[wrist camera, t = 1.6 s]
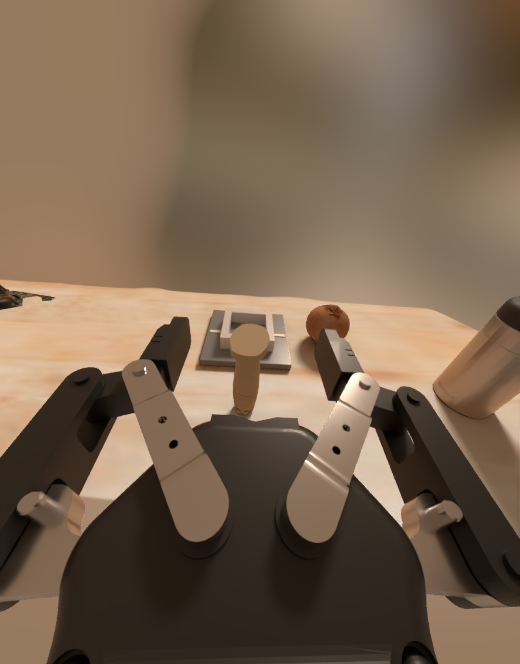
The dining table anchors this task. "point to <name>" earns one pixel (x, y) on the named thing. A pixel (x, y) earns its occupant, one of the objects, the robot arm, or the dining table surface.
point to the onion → (327, 321)
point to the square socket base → (230, 319)
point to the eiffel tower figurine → (16, 298)
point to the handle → (247, 363)
